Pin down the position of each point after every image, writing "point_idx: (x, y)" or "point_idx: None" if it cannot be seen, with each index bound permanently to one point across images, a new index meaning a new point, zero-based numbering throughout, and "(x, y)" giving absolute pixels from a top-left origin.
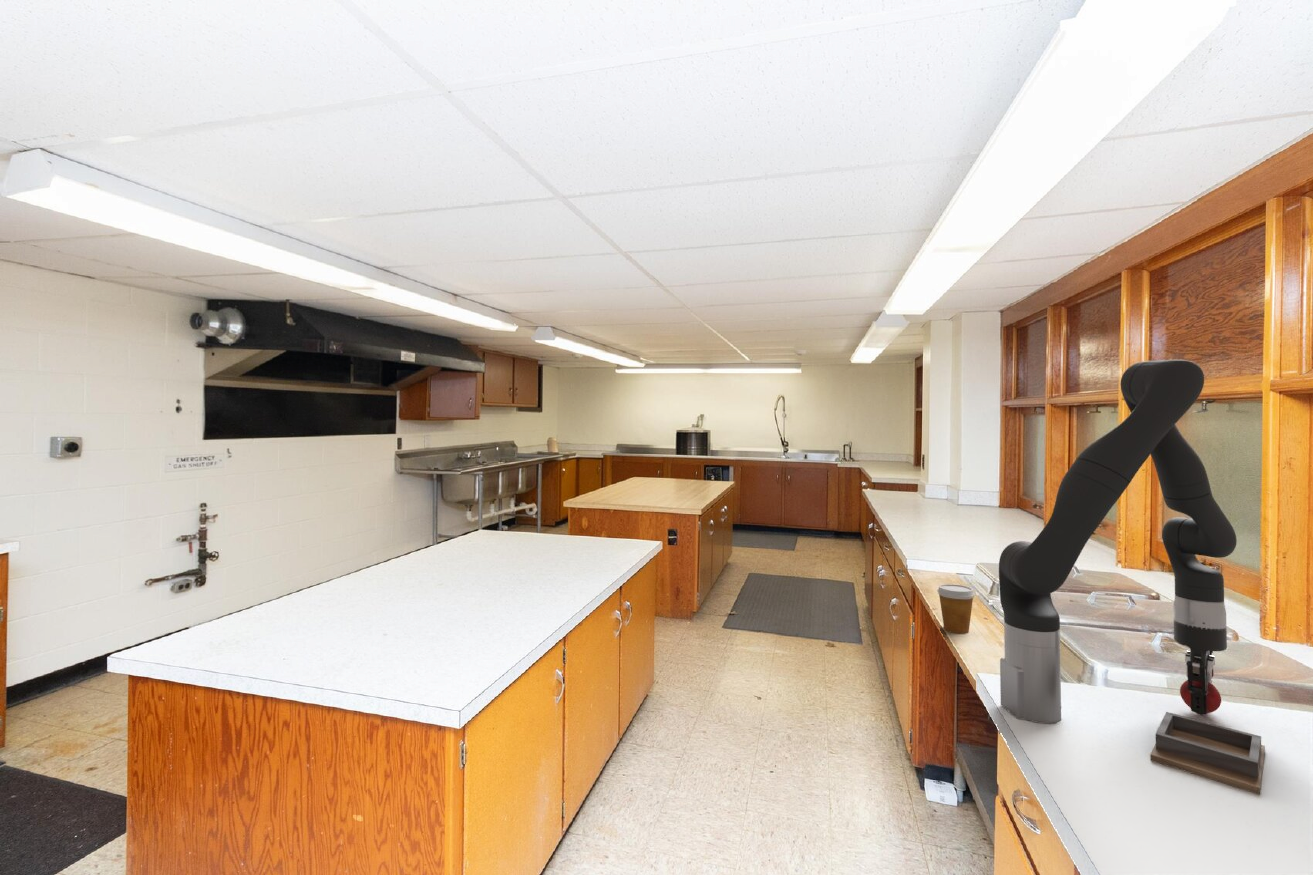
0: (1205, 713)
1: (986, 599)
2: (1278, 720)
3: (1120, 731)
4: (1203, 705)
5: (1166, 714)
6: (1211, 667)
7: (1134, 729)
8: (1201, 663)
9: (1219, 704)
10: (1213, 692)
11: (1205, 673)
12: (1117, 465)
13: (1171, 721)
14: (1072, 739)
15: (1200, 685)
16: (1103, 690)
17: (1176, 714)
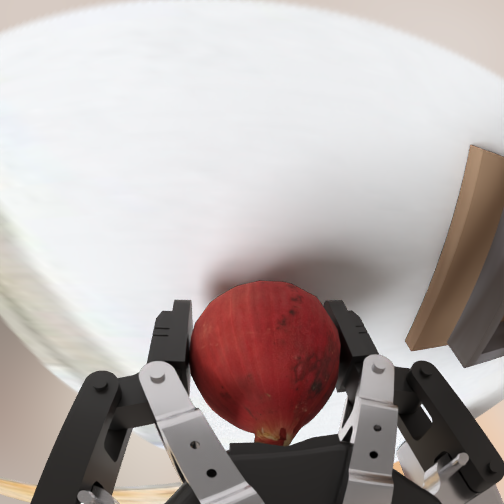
0: (341, 303)
1: None
2: (73, 77)
3: (464, 370)
4: (360, 329)
5: (479, 362)
6: (392, 480)
7: (450, 364)
8: (489, 487)
9: (296, 291)
10: (323, 349)
11: (470, 444)
12: None
13: (492, 344)
14: (497, 384)
15: (327, 400)
16: (240, 441)
17: (474, 352)
